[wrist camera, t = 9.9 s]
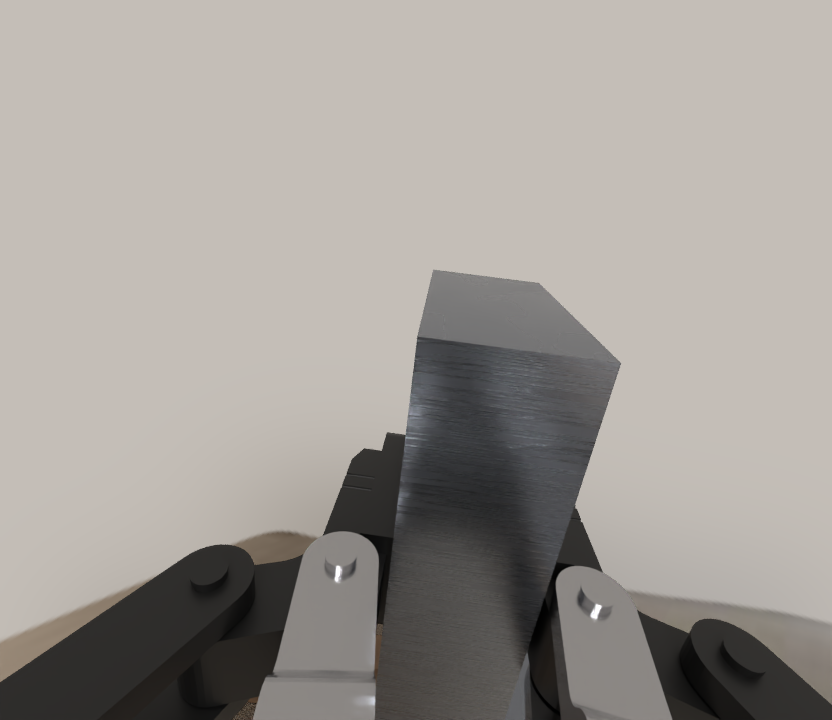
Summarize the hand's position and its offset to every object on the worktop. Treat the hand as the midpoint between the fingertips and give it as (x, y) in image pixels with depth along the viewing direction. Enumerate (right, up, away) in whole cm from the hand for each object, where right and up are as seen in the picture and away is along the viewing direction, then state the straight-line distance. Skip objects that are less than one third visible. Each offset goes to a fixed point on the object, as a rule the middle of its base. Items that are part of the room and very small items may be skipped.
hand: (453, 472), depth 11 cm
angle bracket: (+1, -9, +2) cm, 9 cm away
